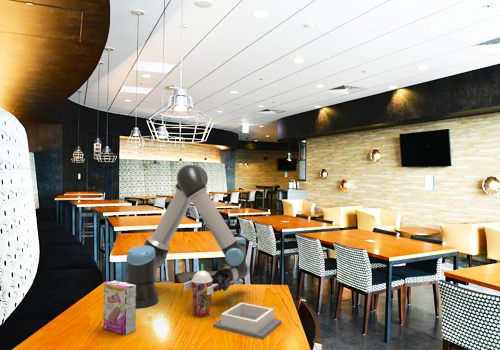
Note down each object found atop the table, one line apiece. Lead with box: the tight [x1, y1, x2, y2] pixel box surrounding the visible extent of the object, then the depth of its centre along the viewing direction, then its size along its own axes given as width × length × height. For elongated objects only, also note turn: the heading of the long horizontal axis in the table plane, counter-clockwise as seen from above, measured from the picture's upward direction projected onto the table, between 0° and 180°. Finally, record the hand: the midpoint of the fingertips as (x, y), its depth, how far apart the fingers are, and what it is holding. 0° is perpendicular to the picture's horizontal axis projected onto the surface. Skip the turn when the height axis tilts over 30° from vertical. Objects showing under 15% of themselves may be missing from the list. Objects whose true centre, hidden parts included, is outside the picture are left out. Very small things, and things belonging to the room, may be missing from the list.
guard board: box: [212, 302, 283, 340], centre depth 135 cm, size 20×16×5 cm
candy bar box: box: [102, 280, 137, 336], centre depth 129 cm, size 11×5×16 cm, turn 63°
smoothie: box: [191, 263, 213, 318], centre depth 145 cm, size 8×8×20 cm
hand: (195, 289), depth 141 cm, fingers open, 10 cm apart
